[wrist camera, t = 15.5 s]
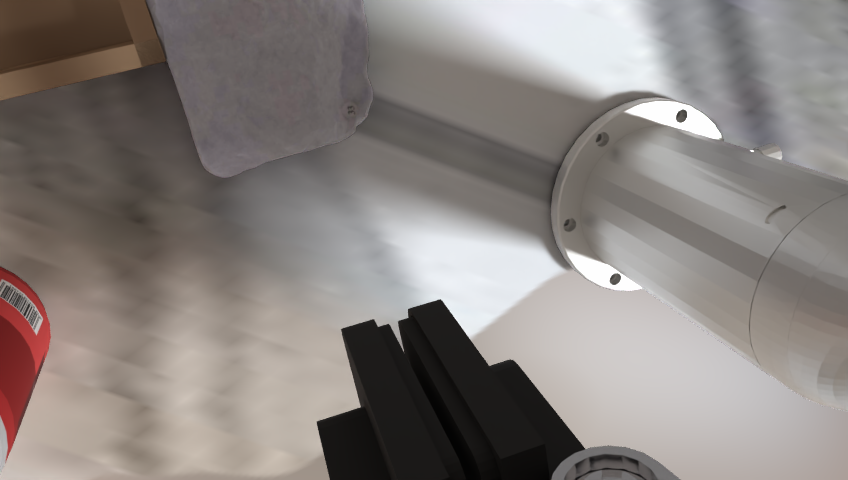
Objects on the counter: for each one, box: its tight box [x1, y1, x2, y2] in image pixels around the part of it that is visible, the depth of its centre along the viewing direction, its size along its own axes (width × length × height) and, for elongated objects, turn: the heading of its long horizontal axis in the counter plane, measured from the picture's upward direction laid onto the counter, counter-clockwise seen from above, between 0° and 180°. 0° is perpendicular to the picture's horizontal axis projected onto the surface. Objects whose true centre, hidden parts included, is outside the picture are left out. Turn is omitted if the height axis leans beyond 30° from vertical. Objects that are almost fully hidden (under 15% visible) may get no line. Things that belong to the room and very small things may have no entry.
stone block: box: [146, 0, 373, 178], centre depth 34 cm, size 12×5×10 cm
